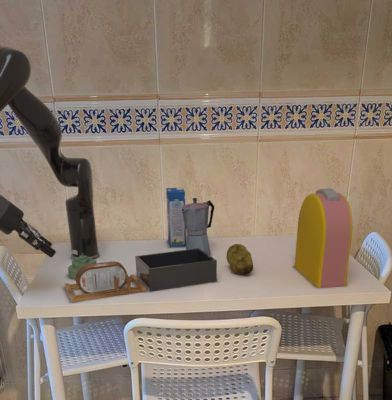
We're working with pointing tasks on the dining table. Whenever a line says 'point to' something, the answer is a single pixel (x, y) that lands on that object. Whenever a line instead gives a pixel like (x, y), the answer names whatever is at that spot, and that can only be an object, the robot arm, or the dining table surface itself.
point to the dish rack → (117, 291)
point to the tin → (100, 276)
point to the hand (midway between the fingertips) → (51, 250)
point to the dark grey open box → (176, 269)
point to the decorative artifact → (79, 265)
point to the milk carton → (176, 217)
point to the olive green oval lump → (239, 259)
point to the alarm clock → (324, 238)
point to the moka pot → (197, 224)
